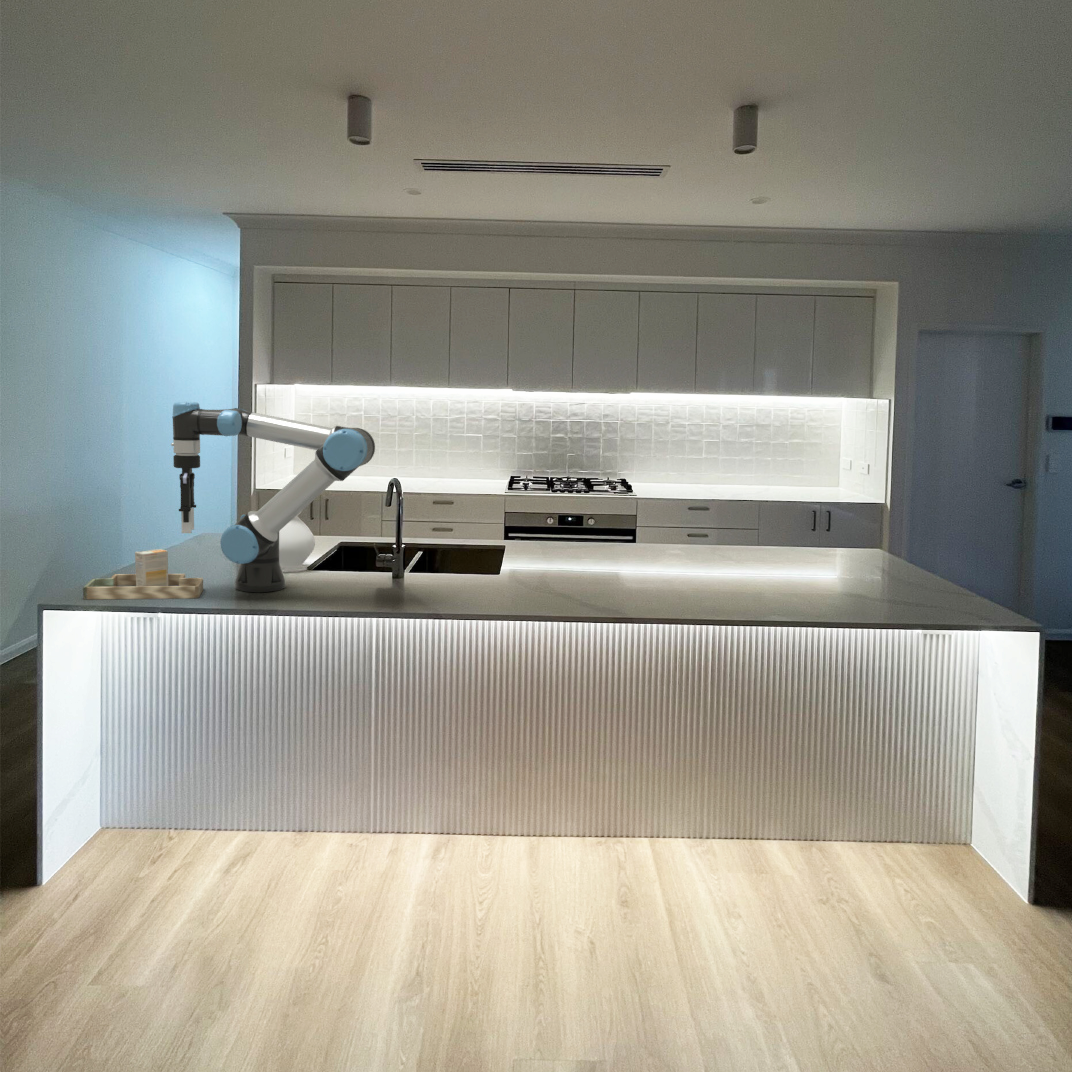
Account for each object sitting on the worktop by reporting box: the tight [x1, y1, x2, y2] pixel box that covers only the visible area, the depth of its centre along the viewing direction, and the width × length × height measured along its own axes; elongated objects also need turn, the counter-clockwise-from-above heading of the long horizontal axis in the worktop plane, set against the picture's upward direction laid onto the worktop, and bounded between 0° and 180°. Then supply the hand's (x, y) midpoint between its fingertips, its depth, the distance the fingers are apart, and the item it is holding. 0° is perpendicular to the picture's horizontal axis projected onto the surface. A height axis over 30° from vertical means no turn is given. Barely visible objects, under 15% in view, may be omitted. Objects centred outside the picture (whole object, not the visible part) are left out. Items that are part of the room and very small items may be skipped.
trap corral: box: [82, 573, 204, 600], centre depth 325 cm, size 32×21×4 cm, turn 102°
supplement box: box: [134, 548, 169, 586], centre depth 321 cm, size 8×5×13 cm, turn 141°
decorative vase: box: [279, 510, 316, 573], centre depth 368 cm, size 18×18×25 cm
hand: (187, 531), depth 322 cm, fingers open, 7 cm apart
